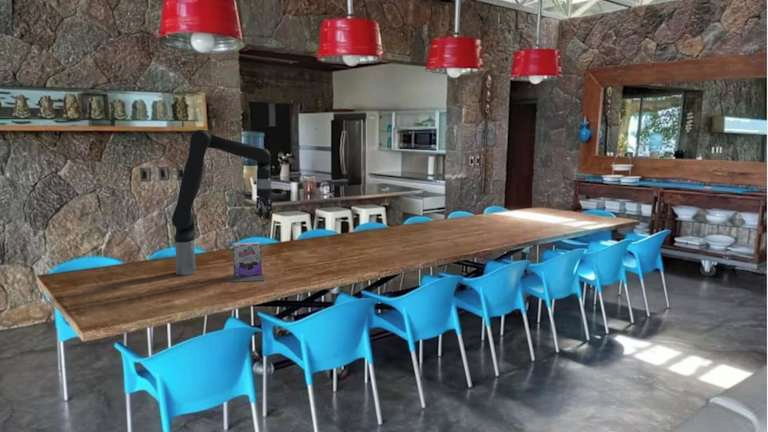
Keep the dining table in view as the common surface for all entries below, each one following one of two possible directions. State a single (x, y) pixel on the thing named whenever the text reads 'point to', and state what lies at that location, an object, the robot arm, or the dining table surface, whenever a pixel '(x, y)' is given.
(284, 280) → the dining table surface
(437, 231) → the dining table surface
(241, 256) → the candy box
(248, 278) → the mat
